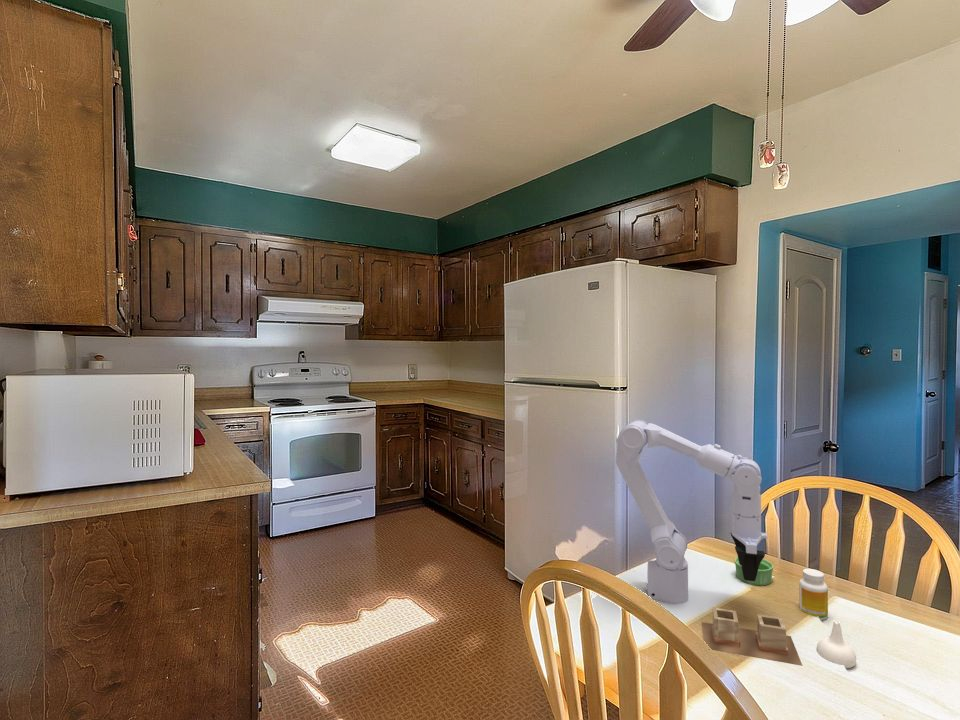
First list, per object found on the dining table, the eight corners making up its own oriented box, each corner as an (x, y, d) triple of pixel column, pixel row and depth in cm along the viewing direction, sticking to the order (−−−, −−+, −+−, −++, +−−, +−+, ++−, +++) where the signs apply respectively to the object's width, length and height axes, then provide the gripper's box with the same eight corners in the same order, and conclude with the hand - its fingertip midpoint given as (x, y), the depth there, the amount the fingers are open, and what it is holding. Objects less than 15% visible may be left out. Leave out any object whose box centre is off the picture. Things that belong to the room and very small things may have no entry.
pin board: (704, 653, 101) (704, 633, 101) (701, 626, 110) (701, 608, 110) (802, 670, 95) (802, 650, 95) (790, 640, 104) (790, 621, 104)
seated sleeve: (713, 642, 103) (712, 618, 102) (711, 629, 107) (711, 606, 107) (740, 647, 101) (740, 623, 101) (737, 633, 105) (737, 610, 105)
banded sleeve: (788, 655, 98) (788, 630, 98) (759, 650, 100) (759, 626, 99) (782, 641, 103) (782, 617, 102) (755, 636, 104) (755, 613, 104)
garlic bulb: (810, 658, 99) (808, 620, 99) (827, 646, 102) (825, 608, 102) (846, 677, 94) (844, 636, 93) (863, 663, 97) (861, 623, 96)
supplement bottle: (832, 621, 111) (832, 578, 110) (805, 619, 112) (805, 577, 111) (821, 609, 116) (821, 567, 116) (795, 607, 117) (795, 566, 117)
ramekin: (737, 568, 138) (737, 552, 138) (775, 576, 132) (775, 560, 132) (731, 581, 130) (731, 564, 130) (771, 590, 125) (771, 573, 125)
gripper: (772, 526, 105) (773, 590, 106) (761, 504, 119) (761, 561, 119) (735, 523, 108) (735, 585, 108) (728, 502, 121) (728, 557, 122)
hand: (747, 572), depth 114 cm, fingers open, 7 cm apart
